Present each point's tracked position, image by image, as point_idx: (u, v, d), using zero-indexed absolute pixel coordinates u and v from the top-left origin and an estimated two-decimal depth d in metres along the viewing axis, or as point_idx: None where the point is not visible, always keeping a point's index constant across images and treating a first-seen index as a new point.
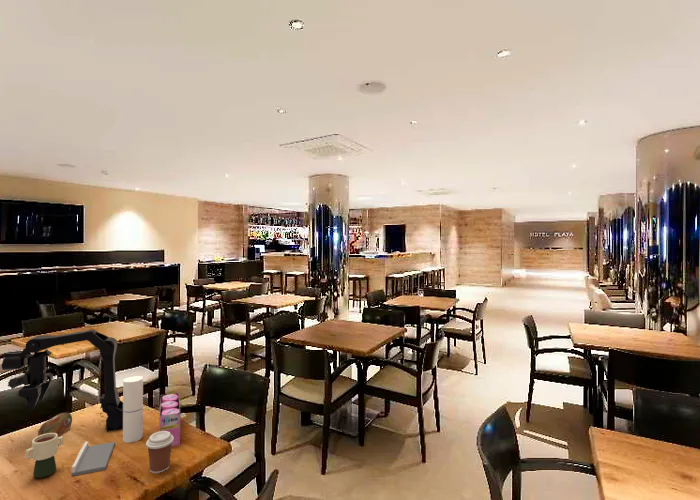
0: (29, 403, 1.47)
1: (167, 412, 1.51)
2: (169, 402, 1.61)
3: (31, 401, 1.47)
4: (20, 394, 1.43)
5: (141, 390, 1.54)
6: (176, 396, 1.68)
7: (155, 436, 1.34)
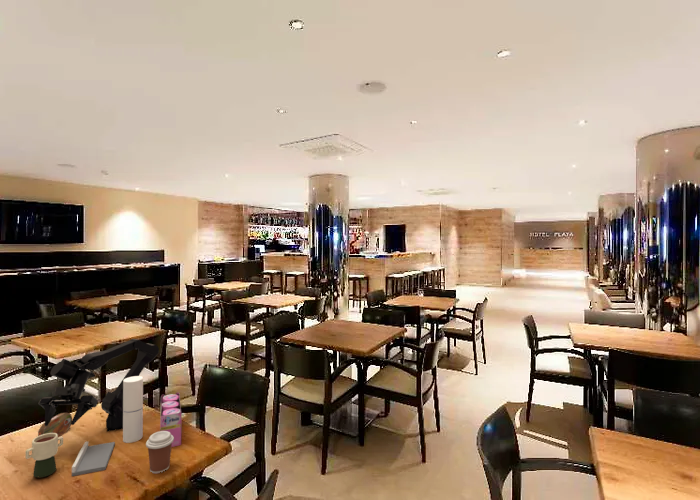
0: (77, 416, 1.40)
1: (168, 412, 1.51)
2: (170, 402, 1.61)
3: (79, 414, 1.41)
4: (91, 400, 1.43)
5: (141, 390, 1.54)
6: (176, 396, 1.68)
7: (155, 436, 1.34)
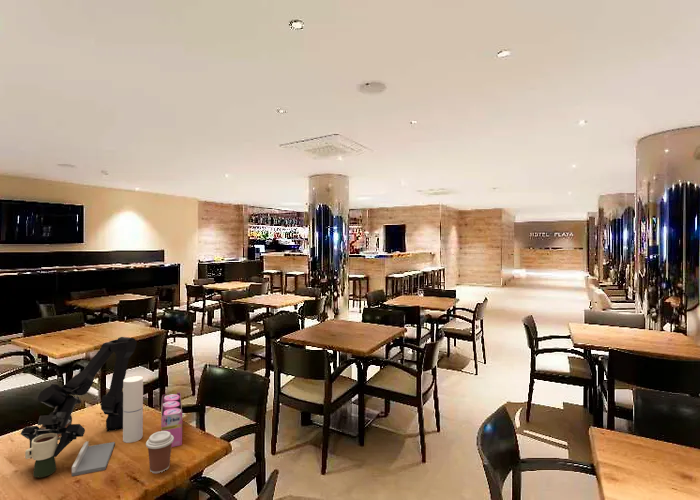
0: (60, 447, 1.31)
1: (169, 412, 1.51)
2: (171, 402, 1.61)
3: (63, 445, 1.32)
4: (78, 429, 1.34)
5: (141, 390, 1.54)
6: (178, 396, 1.68)
7: (155, 436, 1.34)
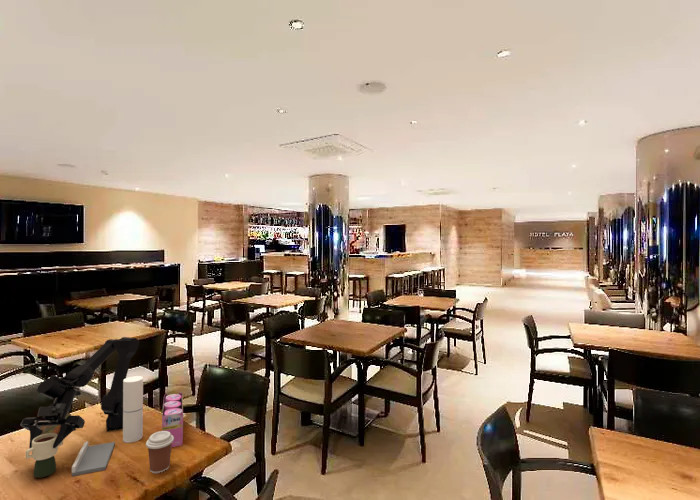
0: (60, 438, 1.31)
1: (169, 412, 1.51)
2: (172, 402, 1.61)
3: (62, 436, 1.32)
4: (78, 420, 1.34)
5: (141, 390, 1.54)
6: (179, 396, 1.68)
7: (155, 436, 1.34)
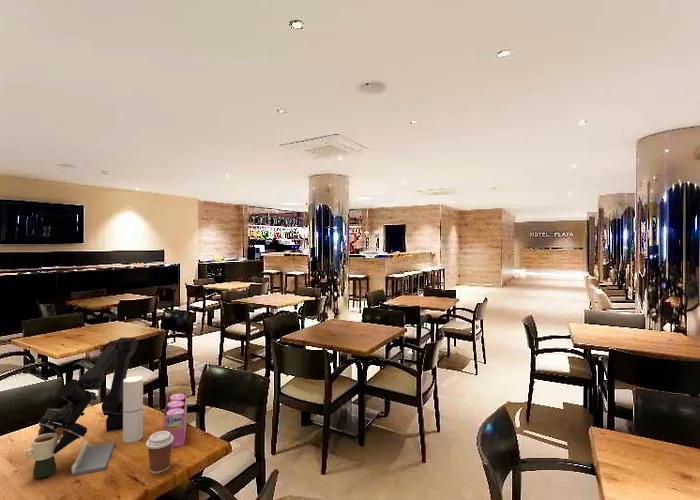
0: (61, 444, 1.30)
1: (171, 412, 1.51)
2: (176, 402, 1.61)
3: (64, 443, 1.31)
4: (75, 429, 1.31)
5: (141, 390, 1.54)
6: (184, 396, 1.68)
7: (155, 436, 1.34)
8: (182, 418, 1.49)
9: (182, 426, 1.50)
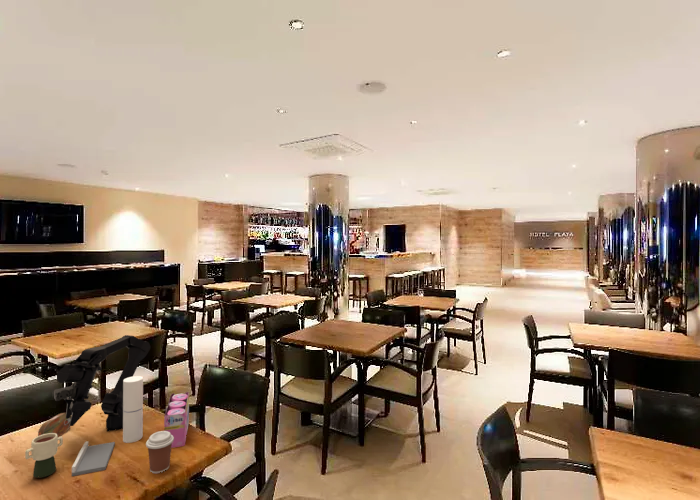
0: (73, 418, 1.42)
1: (172, 412, 1.51)
2: (177, 402, 1.61)
3: (76, 416, 1.42)
4: (75, 407, 1.39)
5: (141, 390, 1.54)
6: (186, 396, 1.68)
7: (155, 436, 1.34)
8: (183, 418, 1.49)
9: (183, 426, 1.49)
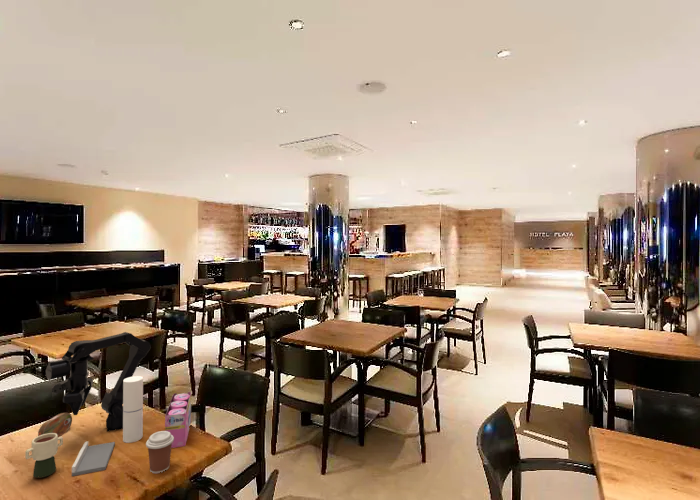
0: (73, 409, 1.46)
1: (173, 412, 1.51)
2: (179, 401, 1.62)
3: (75, 407, 1.46)
4: (65, 400, 1.42)
5: (141, 390, 1.54)
6: (188, 396, 1.68)
7: (155, 436, 1.34)
8: (183, 418, 1.49)
9: (183, 426, 1.49)
